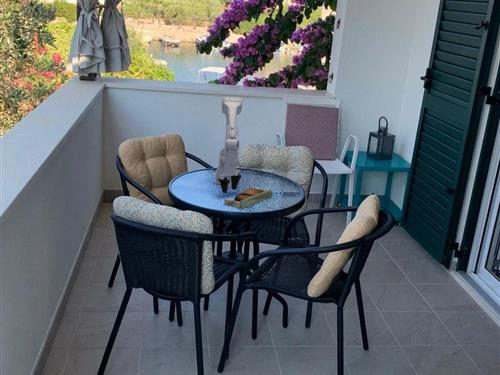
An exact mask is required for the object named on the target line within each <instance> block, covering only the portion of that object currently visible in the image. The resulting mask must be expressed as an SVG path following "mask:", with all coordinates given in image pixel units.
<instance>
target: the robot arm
mask: <svg viewBox="0 0 500 375" xmlns="http://www.w3.org/2000/svg"><path fill="white" fill-rule="evenodd" d="M242 108H243V98H242V97H238V96H236V97H235V96H222V97H221V113H222V114H224V115H225V118H226V127H225V139H224V148H221V149H220V151H219V154H218V156H219V157H218V166H217V168H216V171H215V182H214V184H216V185H219V186H220V187H221V192H222V194H227V193H228V188H231V190H234V191H236V190H237V188H238V184H239V182H240V181H241V178H242V175H241V172H242V171H241V169H237V168H238V167H239V163H240V152H239V149H240V138H239V127H238V125H237V124H236V123H237V116H238V115H240V114H241V112H242Z"/></svg>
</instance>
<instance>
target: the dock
mask: <svg viewBox="0 0 500 375" xmlns="http://www.w3.org/2000/svg"><path fill="white" fill-rule="evenodd" d="M253 189H254V190H256V191H258V192H259V194H257V195H254V196H252V197H249V198H246V199H244V200H241V201H240V202H238V201H234V200H233V199H231V198H230V199H229V198H223V199H224V201H223V205H226V206H230V207H233V208H237V209H240V210H244V209H246V208H249V207H251V206H254V205H256V204H258V203H261V202H263V201H265V200H268V199H270V198H273V191H274V190H273V189H263V188H259V187H253Z"/></svg>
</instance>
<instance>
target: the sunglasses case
mask: <svg viewBox="0 0 500 375" xmlns="http://www.w3.org/2000/svg"><path fill="white" fill-rule="evenodd" d="M257 194H259V192H258V191H256V190H254V187H252V186H250V187H249V188H247V189H245V190H244V191H242V192H240V193H238V194H237V195H236V196H234V201H238V202H240V201H241V200H244V199H246V198H249V197H252V196H254V195H257Z"/></svg>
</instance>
